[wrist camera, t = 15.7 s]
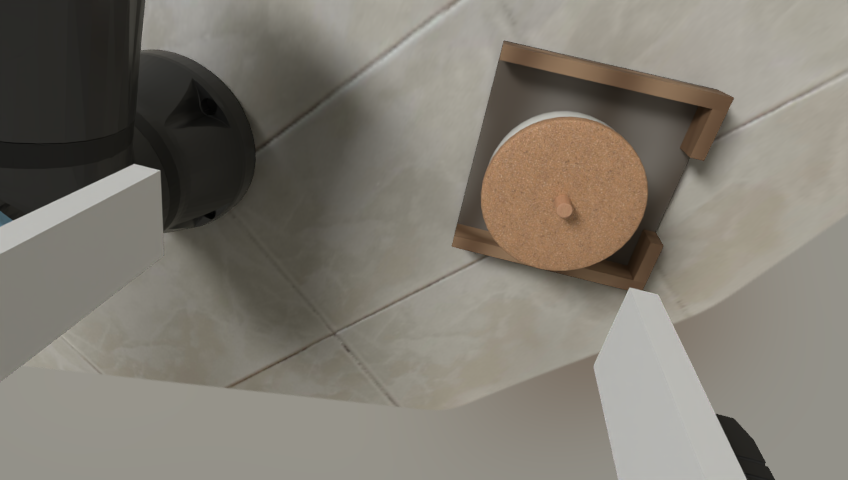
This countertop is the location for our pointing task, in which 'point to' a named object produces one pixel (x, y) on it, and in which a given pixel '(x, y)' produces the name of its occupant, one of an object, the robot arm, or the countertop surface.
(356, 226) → the countertop surface
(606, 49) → the countertop surface
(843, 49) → the countertop surface
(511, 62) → the holder
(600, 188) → the lidded jar
